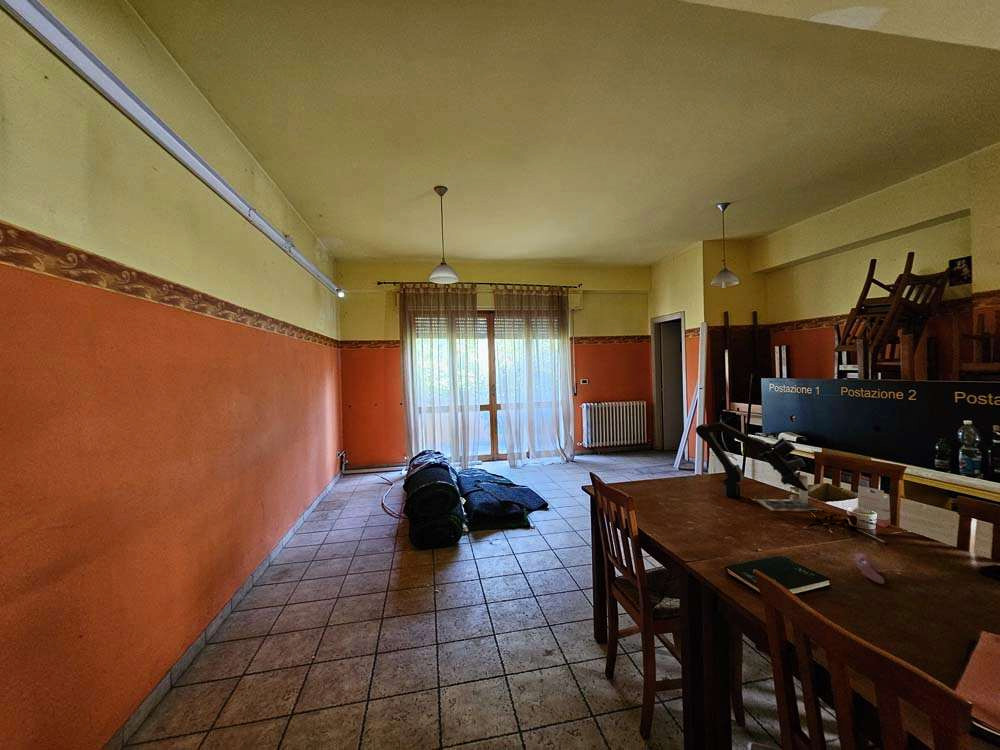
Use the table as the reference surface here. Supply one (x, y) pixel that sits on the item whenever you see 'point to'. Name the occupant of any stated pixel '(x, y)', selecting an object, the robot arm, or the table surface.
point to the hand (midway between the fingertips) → (807, 489)
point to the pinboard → (786, 504)
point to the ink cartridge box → (875, 504)
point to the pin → (803, 494)
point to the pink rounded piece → (868, 568)
